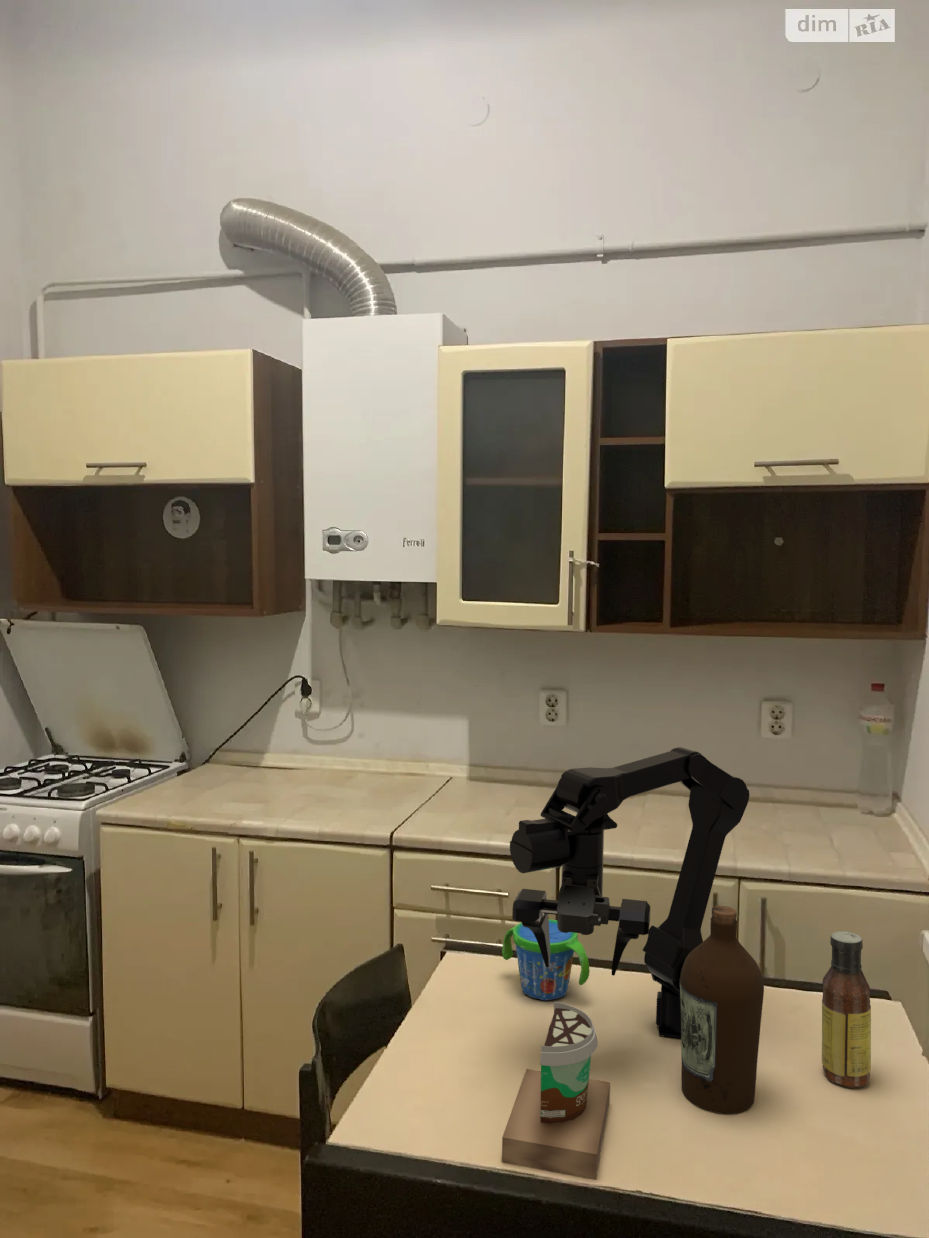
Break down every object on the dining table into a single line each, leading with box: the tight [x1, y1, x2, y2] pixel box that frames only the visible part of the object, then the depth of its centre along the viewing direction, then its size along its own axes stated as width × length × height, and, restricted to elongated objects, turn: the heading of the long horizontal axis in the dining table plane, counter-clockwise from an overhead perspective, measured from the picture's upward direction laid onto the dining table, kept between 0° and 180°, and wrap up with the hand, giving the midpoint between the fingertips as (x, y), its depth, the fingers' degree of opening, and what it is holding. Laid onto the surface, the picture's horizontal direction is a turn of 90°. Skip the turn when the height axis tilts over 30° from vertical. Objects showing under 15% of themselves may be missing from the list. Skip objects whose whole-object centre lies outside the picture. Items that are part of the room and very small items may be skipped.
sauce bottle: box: [821, 930, 872, 1089], centre depth 125 cm, size 6×6×20 cm
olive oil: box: [680, 905, 765, 1115], centre depth 121 cm, size 11×11×25 cm
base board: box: [501, 1068, 611, 1180], centre depth 113 cm, size 11×15×3 cm
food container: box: [539, 1001, 599, 1123], centre depth 113 cm, size 12×6×10 cm, turn 166°
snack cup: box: [501, 918, 590, 1002], centre depth 149 cm, size 16×10×10 cm
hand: (580, 970), depth 129 cm, fingers open, 9 cm apart
